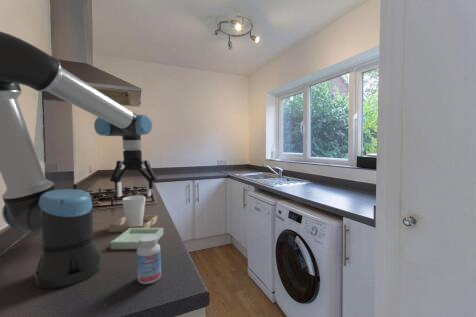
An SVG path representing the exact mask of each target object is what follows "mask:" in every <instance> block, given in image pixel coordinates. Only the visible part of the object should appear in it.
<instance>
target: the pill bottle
mask: <svg viewBox="0 0 476 317" xmlns="http://www.w3.org/2000/svg"><path fill="white" fill-rule="evenodd" d="M158 241H159V239H158V237H157V236H156V235H146V236H143V237H141V238H140V239H139V244H140V247H139V248H138V249H136V270H137V271H136V274H137V275H136V278H137V279H136V280H137V281H138V282H139V283H140V284H142V285H149V284H153V283H156V282H157V281H159V280H160V279H161V277H162V262H161V261H162V258H161V257H162V255H161V254H162V253H161V252H162V251H161V245H160V244H159V243H158Z"/></svg>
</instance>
